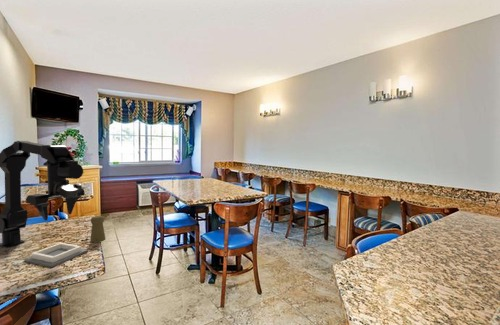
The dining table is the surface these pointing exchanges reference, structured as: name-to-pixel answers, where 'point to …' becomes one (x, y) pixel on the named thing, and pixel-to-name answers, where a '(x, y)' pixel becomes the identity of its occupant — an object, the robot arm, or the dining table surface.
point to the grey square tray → (55, 254)
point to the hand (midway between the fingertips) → (58, 217)
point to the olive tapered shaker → (97, 229)
